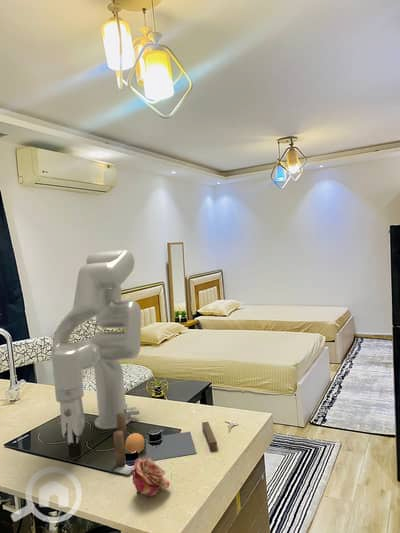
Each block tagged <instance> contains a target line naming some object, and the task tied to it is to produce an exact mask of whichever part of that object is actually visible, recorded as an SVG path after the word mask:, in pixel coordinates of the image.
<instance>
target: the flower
mask: <svg viewBox="0 0 400 533" xmlns="http://www.w3.org/2000/svg"><path fill="white" fill-rule="evenodd" d="M130 470H131V471H130V472H131V476H132V483H133V485H134V487H135V489H136V490H135V491H136V492H135V493H136V496H139V497H141V496H142V495H143V494H144V495H145V497H147V498H150V499H153V500H155V499H154V497H153V496H155V495H157V494H160V493H161V492H160V490H166V489H168V488H170V484H171V483H170V481H169V480H167V479H166V478H165V477H164V476H165V475H166V471H165V470H163V468H162V467H160V466H159V465H158V464H156V463H155V461H154V460H153V461H152V460H151V459H150V458H149V459H147V457H145V458H143V457H141V458H136V459H135V460H134V464H133V467H132V468H130ZM159 489H160V490H159ZM155 501H156V500H155Z"/></svg>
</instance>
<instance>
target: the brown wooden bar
mask: <svg viewBox="0 0 400 533" xmlns="http://www.w3.org/2000/svg"><path fill="white" fill-rule="evenodd" d="M201 427H202V432H203V435H204V438H205V441H206V443H207V446H208V448H209V451H210V452H215V451H218V444H217V442H218V441H217V440H216V437H215V435H214V432H213V430H212V428H211V425H210V422H209V421H203V422H201Z"/></svg>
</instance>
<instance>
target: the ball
mask: <svg viewBox="0 0 400 533" xmlns="http://www.w3.org/2000/svg"><path fill="white" fill-rule="evenodd" d="M145 446H146V440H145V438H144V436H143V435H142V434H140V433H138V432H133V433H131V434H129V435H128V436H127V439H126V442H125V445H124V448H125V449H126V450H125V451H127V452H128V453H129V452H134V451H137V453H138V454H139V453H141V452H142V451H143V450H144V448H145Z"/></svg>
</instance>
